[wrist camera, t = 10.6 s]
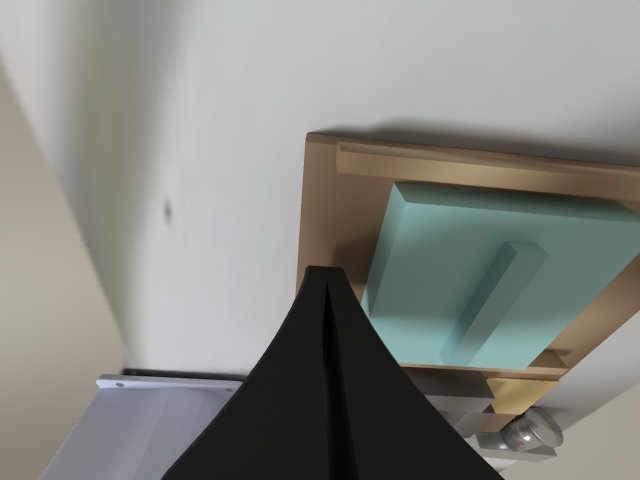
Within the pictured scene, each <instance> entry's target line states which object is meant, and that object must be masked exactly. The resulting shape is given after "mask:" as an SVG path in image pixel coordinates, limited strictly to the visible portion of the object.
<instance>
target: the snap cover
mask: <svg viewBox="0 0 640 480" xmlns="http://www.w3.org/2000/svg"><path fill="white" fill-rule="evenodd" d="M639 253H640V213H638V212H636V211H634V210H632V209H630V208H628V207H626V206H624V205H622V204H620V203H611V202H600V201H589V200H579V199H568V198H557V197H547V196H536V195H525V194H515V193H504V192H494V191H483V190H472V189H462V188H451V187H440V186H430V185H419V184H408V183H398V182H394V183H393V187H392V191H391V194H390V198H389V202H388V205H387V209H386V213H385V217H384V220H383V224H382V228H381V231H380V235H379V239H378V242H377V246H376V250H375V254H374V257H373V261H372V265H371V268H370V272H369V276H368V280H367V283H366V287H365V291H364V294H363V298H362V302H361V307H362V308H363V310H364V312H365V314H366V316H367V317H368V319H369V321H370V322H371V324H372V326H373V327H374V329H375V330H376V332H377V333H378V335H379V337H380V338H381V340H382V341H383V343H384V344H385V346H386V347H387V348H388V350H389V351H390V353H391V354H392V355H393V357H394V358H395V359H396V361H397V362H398V363H409V364H427V365H445V366H462V367H480V368H498V369H515V370H525V369H526V367H527V366H528V365H529V364H530V363H531V362H532V361H533V360H534V359H535V358H536V357H537V356H538V355H539V354H540V353H541V352H542V351H543V350H544V349H545V348H546V347H547V346H548V345H549V344H550V343H551V342H552V341H553V340H554V339H555V338H556V337H557V336H558V335H559V334H560V333H561V332H562V331H563V330H564V329H565V328H566V327H567V326H568V325H569V324H570V323H571V322H572V321H573V320H574V319H575V318H576V317H577V316H578V315H579V314H580V313H581V312H582V311H583V310H584V309H585V307H586V306H587V305H588V304H589V303H590V302H591V301H592V300H593V299H594V298H595V297H596V296H597V295H598V294H599V293H600V292H601V291H602V290H603V289H604V288H605V287H606V286H607V285H608V284H609V283H610V282H611V281H612V280H613V279H614V278H615V277H616V276H617V275H618V274H619V273H620V272H621V271H622V270H623V269H624V268H625V267H626V266H627V265H628V264H629V263H630V262H631V261H632V260H633V259H634V258H635V257H636V256H637V255H638V254H639Z"/></svg>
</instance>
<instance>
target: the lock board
mask: <svg viewBox="0 0 640 480" xmlns="http://www.w3.org/2000/svg"><path fill="white" fill-rule="evenodd" d="M394 182H398V183H408V184H419V185H430V186H440V187H451V188H462V189H472V190H483V191H494V192H504V193H515V194H525V195H536V196H547V197H557V198H568V199H579V200H589V201H600V202H611V203H620V204H622V205H624V206H626V207H628V208H630V209H632V210H634V211H636V212H638V213H640V167H635V166H626V165H616V164H606V163H596V162H587V161H577V160H567V159H557V158H547V157H538V156H528V155H518V154H508V153H499V152H489V151H479V150H469V149H460V148H450V147H440V146H430V145H420V144H411V143H401V142H391V141H381V140H372V139H362V138H352V137H342V136H333V135H323V134H313V133H307V136H306V142H305V157H304V172H303V188H302V204H301V220H300V235H299V251H298V267H297V283H296V296H297V294H298V292H299V289H300V287H301V284H302V281H303V278H304V274H305V269H306V267H307V266H309V265H314V266H328V267H341V268H343V269H344V271H345V273H346V276H347V278H348V281H349V283H350V285H351V287H352V289H353V291H354V293H355V295H356V297H357V299H358V301H359V303H360V305H361V302H362V298H363V294H364V291H365V287H366V283H367V280H368V276H369V272H370V268H371V265H372V261H373V257H374V254H375V250H376V246H377V242H378V239H379V235H380V231H381V228H382V224H383V220H384V217H385V213H386V209H387V205H388V202H389V198H390V194H391V191H392V187H393V183H394ZM639 310H640V253H639V254H638V255H637V256H636V257H635V258H634V259H633V260H632V261H631V262H630V263H629V264H628V265H627V266H626V267H625V268H624V269H623V270H622V271H621V272H620V273H619V274H618V275H617V276H616V277H615V278H614V279H613V280H612V281H611V282H610V283H609V284H608V285H607V286H606V287H605V288H604V289H603V290H602V291H601V292H600V293H599V294H598V295H597V296H596V297H595V298H594V299H593V300H592V301H591V302H590V303H589V304H588V305H587V306H586V307H585V309H584V310H583V311H582V312H581V313H580V314H579V315H578V316H577V317H576V318H575V319H574V320H573V321H572V322H571V323H570V324H569V325H568V326H567V327H566V328H565V329H564V330H563V331H562V332H561V333H560V334H559V335H558V336H557V337H556V338H555V339H554V340H553V341H552V342H551V343H550V344H549V345H548V346H547V347H546V348H545V349H544V350H543V351H542V352H541V353H540V354H539V355H538V356H537V357H536V358H535V359H534V360H533V361H532V362H531V363H530V364H529V365H528V366H527V367H526V369H525V370H515V369H498V368H480V367H462V366H445V365H427V364H409V363H398V364H399V365H400V366H401V367H402V369H403V370H404V371H405V373H406V374H407V375H408V376H409V378H410V379H411V380H412V381H413V383H414V384H415V385H416V386H417V387H418V389H419V390H420V391H421V392H422V393H423V394H424V395H425V397H426V398H427V399H428V400H429V401H430V402H431V404H432V405H433V406H434V407H435V408H436V409H437V410H438V412H439V413H440V414H441V415H442V416H443V417H444V418H445V419H446V420H447V422H448V423H449V424H450V425H451V426H452V427H453V428H454V429H455V430H456V431H457V432H458V433H459V434H460V435H461V436H462V437H463V438H470V437H471V436H472V435H473V434H475V433H476V432H498V431H499V430H501V429H502V428H503V427H504V426H505V425H506V424H508V423H509V422H510V421H511V420H512V419H513V418H515V417H516V416H517V415H518V414H519V415H521V414H522V413H523V412H524V411H526V410H527V409H528V408H529V407H530V406H531V405H533V404H534V403H535V402H536V401H537V400H538V399H540V398H541V397H542V396H543V395H544V394H546V393H547V392H548V391H549V390H550V389H551V388H553V387H554V386H555V385H556V384H557V383H558V382H559V379H560V378H561V377H562V376H563V375H565V374H566V373H567V372H568V371H569V370H570V369H572V368H573V367H574V366H575V365H576V364H577V363H579V362H580V361H581V360H582V359H583V358H584V357H586V356H587V355H588V354H589V353H590V352H591V351H593V350H594V349H595V348H596V347H597V346H598V345H600V344H601V343H602V342H603V341H604V340H605V339H607V338H608V337H609V336H610V335H611V334H612V333H614V332H615V331H616V330H617V329H618V328H619V327H620V326H622V325H623V324H624V323H625V322H626V321H627V320H629V319H630V318H631V317H632V316H633V315H634V314H636V313H637V312H638V311H639Z"/></svg>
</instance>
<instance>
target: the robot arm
mask: <svg viewBox="0 0 640 480" xmlns="http://www.w3.org/2000/svg"><path fill="white" fill-rule="evenodd" d="M96 383H97V385H98V386H99V387H100V389H99V390H98V392H97V393H96V395H95V396H94V398H93V399H92V401H91V402H90V404H89V405H88V407H87V408H86V410H85V411H84V413H83V414H82V416H81V417H80V419H79V420H78V422H77V423H76V425H75V426H74V428H73V429H72V431H71V432H70V434H69V435H68V437H67V438H66V439H65V441H64V443H63V444H62V446H61V447H60V448H59V450H58V451H57V453H56V455H55V456H54V457H53V459H52V460H51V462H50V463H49V465H48V466H47V468H46V469H45V471H44V472H43V474H42V475H41V477H40V478H39V480H505V479H504V478H502V476H501V475H500V474H499V473H498V472H496V471H495V470H494V469H493V468H492V467H491V466H490V465H489V464H488V463H487V462H486V461H485V460H484V459H483V458H482V457H481V456H480V455H479V454H478V453H477V452H476V451H475V450H474V449H473V448H472V447H471V446H470V445H469V444H468V443H467V442H466V441H465V440H464V439H463V437H462V436H461V435H460V434H459V433H458V432H457V431H456V430H455V429H454V428H453V427H452V426H451V425H450V424H449V423H448V422H447V420H446V419H445V418H444V417H443V416H442V415H441V414H440V413H439V412H438V410H437V409H436V408H435V407H434V406H433V405H432V404H431V402H430V401H429V400H428V399H427V398H426V397H425V395H424V394H423V393H422V392H421V391H420V390H419V389H418V387H417V386H416V385H415V384H414V383H413V381H412V380H411V379H410V378H409V376H408V375H407V374H406V373H405V371H404V370H403V369H402V367H401V366H400V365H399V364H398V362H397V361H396V359H395V358H394V357H393V355H392V354H391V353H390V351H389V350H388V348H387V347H386V346H385V344H384V343H383V341H382V340H381V338H380V337H379V335H378V333H377V332H376V330H375V329H374V327H373V326H372V324H371V322H370V321H369V319H368V317H367V316H366V314H365V312H364V310H363V308H362V307H361V305H360V303H359V301H358V299H357V297H356V295H355V293H354V291H353V289H352V287H351V285H350V283H349V281H348V278H347V276H346V273H345V271H344V269H343V268H341V267H328V266H314V265H309V266H307V267H306V269H305V274H304V278H303V281H302V284H301V287H300V289H299V292H298V294H297V296H296V298H295V300H294V302H293V305H292V307H291V309H290V311H289V313H288V314H287V316H286V318H285V320H284V322H283V323H282V325H281V327H280V329H279V330H278V332H277V334H276V335H275V337H274V339H273V340H272V342H271V343H270V345H269V347H268V348H267V350H266V351H265V353H264V354H263V356H262V357H261V358H260V360H259V361H258V363H257V364H256V365H255V367H254V368H253V370H252V371H251V372H250V374H249V375H248V377H247V378H246V379H245V380H244V382H241V381H226V380H207V379H187V378H167V377H148V376H128V375H109V374H106V375H105V374H103V375H100V376H99V378H98V380H97V381H96Z"/></svg>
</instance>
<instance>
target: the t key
mask: <svg viewBox="0 0 640 480" xmlns="http://www.w3.org/2000/svg"><path fill="white" fill-rule="evenodd" d="M463 439H464V440H465V441H466V442H467V443H468V444H469V445H470V446H471V447H472V448H473V449H474V450H475V451H476V452H477V453H478V454H479V455H480V456H481V457H490V458H501V459H511V460H521V461H532V462H539V461H542V460H546V459H549V458H553V457H556V456H557V455H556V453H555V451H554V449H553V448H554V447H557V446H560V445H561V444H562V443H563V436H562V432H561V430H560V428H559V426H558V425H557V423H556V422H555V421H554V419H553V418H552V417H551V416H550V415H549V414H547V413H546V412H545V411H543V410H541V409H539V408H535V407H534V408H530V409H528V410H527V411H526V412H525V417H523V418H521V419H519V420H517V421H515V422H512V423H510V424H508V425H505V426H504V427H503V428H502V429H501V430H499V431H498V432H476V433H475V434H473V435H472V436H471V437H470V438H463Z"/></svg>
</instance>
